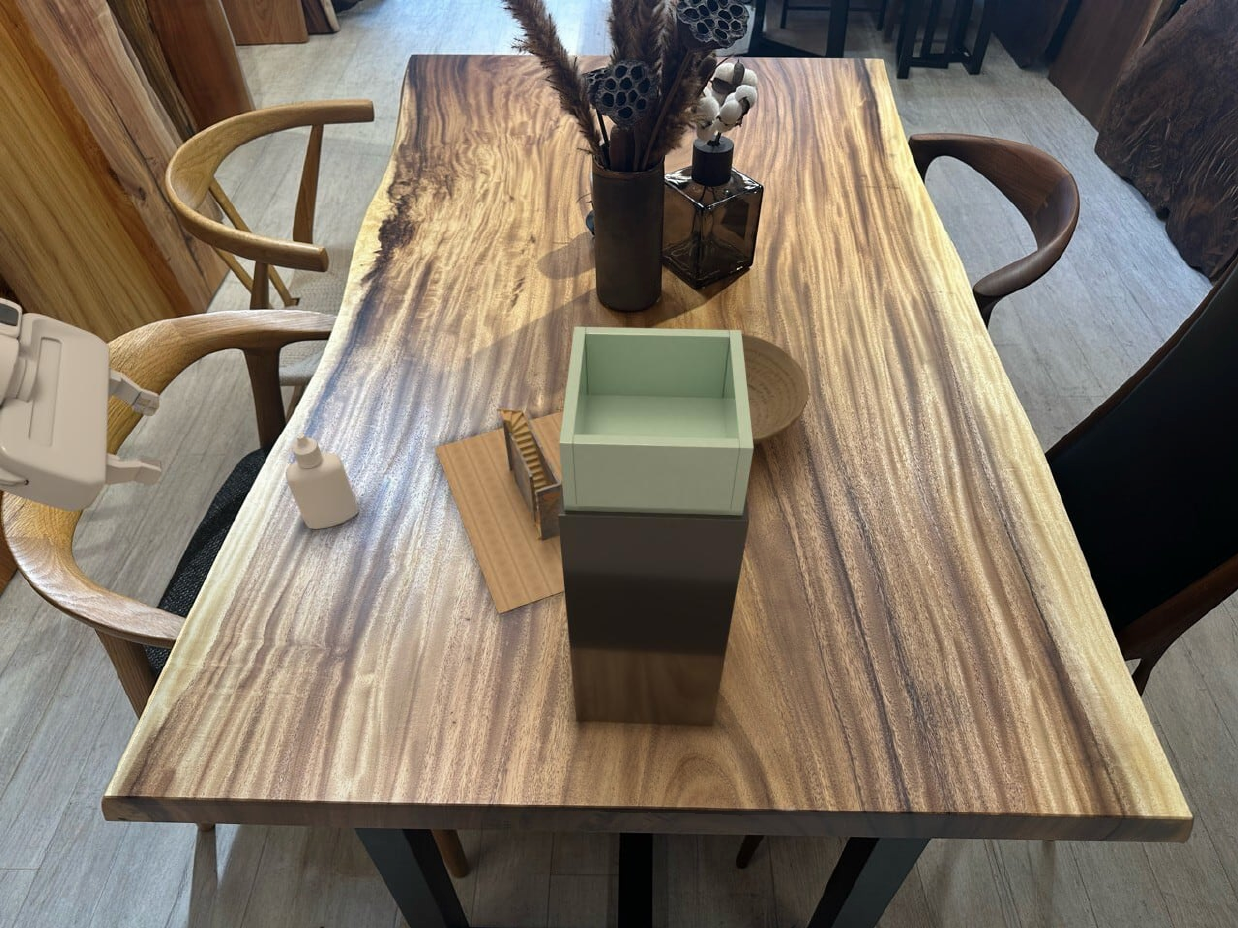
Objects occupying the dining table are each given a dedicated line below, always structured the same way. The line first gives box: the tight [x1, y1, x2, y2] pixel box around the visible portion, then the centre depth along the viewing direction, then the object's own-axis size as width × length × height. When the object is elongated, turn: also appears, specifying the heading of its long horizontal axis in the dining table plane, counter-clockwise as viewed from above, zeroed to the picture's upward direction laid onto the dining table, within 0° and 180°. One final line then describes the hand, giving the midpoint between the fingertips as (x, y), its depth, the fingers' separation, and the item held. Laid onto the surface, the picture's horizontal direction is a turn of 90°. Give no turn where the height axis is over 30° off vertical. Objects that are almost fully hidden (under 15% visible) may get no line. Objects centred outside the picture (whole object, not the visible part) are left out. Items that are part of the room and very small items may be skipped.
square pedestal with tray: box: [558, 326, 755, 727], centre depth 62 cm, size 12×12×34 cm
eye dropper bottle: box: [285, 432, 359, 530], centre depth 83 cm, size 4×6×12 cm
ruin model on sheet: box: [434, 408, 564, 615], centre depth 85 cm, size 25×16×10 cm, turn 23°
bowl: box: [741, 332, 810, 446], centre depth 93 cm, size 18×18×8 cm
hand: (157, 438), depth 73 cm, fingers open, 8 cm apart
